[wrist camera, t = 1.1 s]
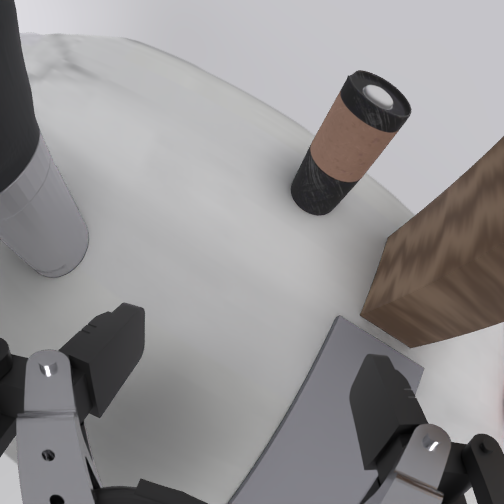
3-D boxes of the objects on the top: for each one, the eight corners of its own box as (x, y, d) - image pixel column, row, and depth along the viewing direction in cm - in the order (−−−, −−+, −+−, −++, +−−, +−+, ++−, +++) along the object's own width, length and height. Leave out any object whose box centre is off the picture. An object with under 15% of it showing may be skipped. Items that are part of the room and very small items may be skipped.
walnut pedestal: (413, 357, 36) (623, 282, 7) (351, 318, 36) (586, 182, 7) (436, 269, 43) (586, 166, 14) (384, 229, 43) (531, 87, 14)
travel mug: (342, 218, 42) (423, 125, 24) (293, 216, 40) (364, 107, 22) (330, 175, 45) (394, 80, 27) (284, 172, 43) (338, 62, 25)
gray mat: (329, 540, 23) (333, 543, 22) (222, 510, 23) (223, 513, 23) (419, 368, 35) (424, 367, 34) (336, 317, 36) (339, 315, 35)
